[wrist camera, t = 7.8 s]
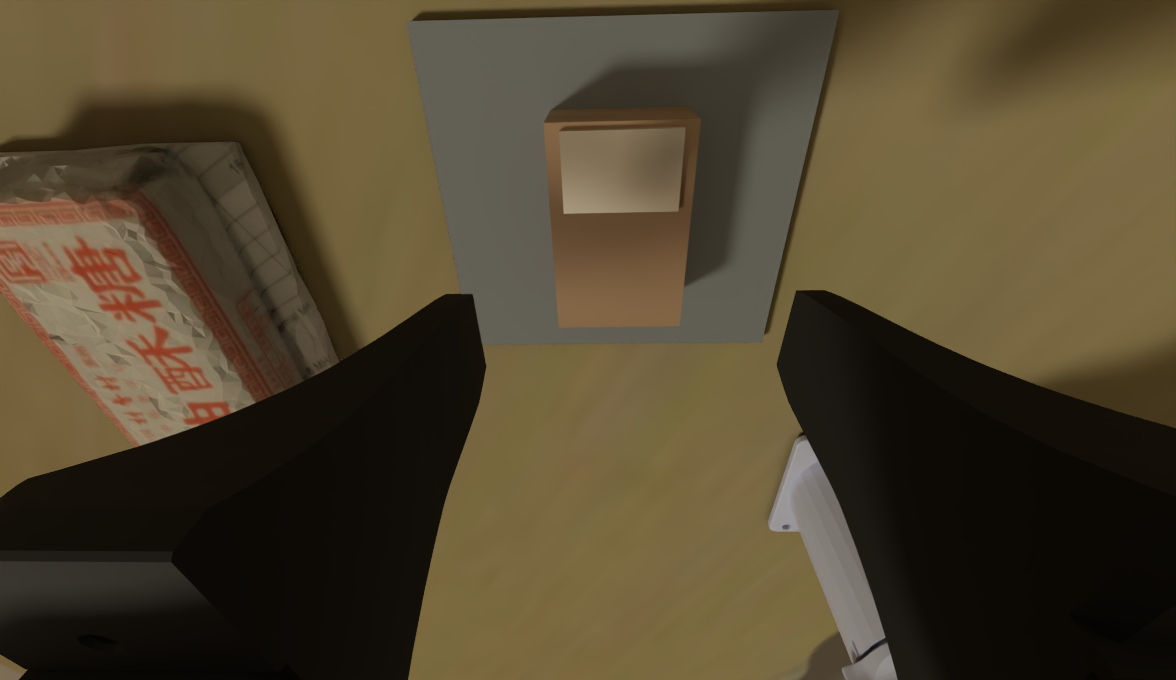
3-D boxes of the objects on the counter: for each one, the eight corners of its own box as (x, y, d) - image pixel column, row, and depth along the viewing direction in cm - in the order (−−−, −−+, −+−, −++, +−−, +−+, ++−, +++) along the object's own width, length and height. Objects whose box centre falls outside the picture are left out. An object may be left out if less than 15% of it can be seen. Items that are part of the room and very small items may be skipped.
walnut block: (670, 293, 19) (680, 329, 17) (562, 295, 19) (558, 330, 17) (686, 106, 15) (702, 120, 13) (550, 109, 15) (542, 124, 13)
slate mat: (833, 10, 14) (839, 9, 14) (759, 337, 21) (761, 342, 20) (410, 21, 14) (405, 21, 14) (473, 339, 21) (471, 344, 21)
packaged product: (-192, 184, 13) (141, 167, 13) (-8, 148, 17) (250, 133, 17) (166, 545, 23) (358, 542, 23) (229, 469, 27) (394, 465, 27)
